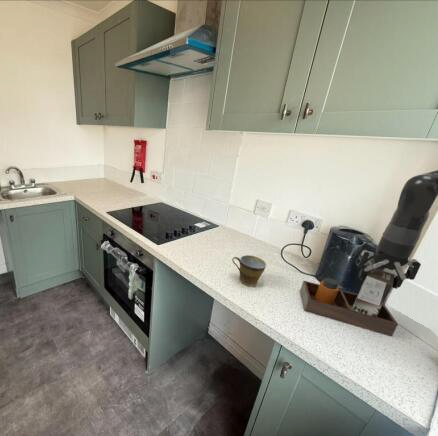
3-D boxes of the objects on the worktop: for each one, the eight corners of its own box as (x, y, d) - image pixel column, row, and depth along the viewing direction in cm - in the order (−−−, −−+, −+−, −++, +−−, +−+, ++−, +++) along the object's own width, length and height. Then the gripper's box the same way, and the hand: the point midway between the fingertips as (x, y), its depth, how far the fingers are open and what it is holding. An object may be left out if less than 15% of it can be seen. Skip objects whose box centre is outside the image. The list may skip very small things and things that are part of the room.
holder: (299, 292, 98) (303, 280, 96) (375, 313, 89) (381, 300, 87) (303, 312, 87) (308, 299, 85) (390, 338, 78) (398, 324, 76)
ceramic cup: (262, 280, 104) (268, 260, 100) (258, 292, 96) (263, 271, 93) (232, 269, 111) (236, 250, 107) (225, 280, 103) (229, 259, 99)
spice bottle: (328, 303, 91) (338, 279, 87) (332, 313, 87) (343, 287, 82) (311, 298, 93) (320, 274, 89) (314, 308, 89) (323, 282, 84)
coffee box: (372, 325, 80) (393, 285, 74) (348, 314, 85) (366, 275, 79) (376, 312, 86) (396, 274, 80) (354, 303, 90) (370, 265, 84)
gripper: (374, 238, 74) (354, 283, 80) (437, 250, 68) (411, 296, 74) (365, 229, 80) (347, 271, 86) (422, 239, 75) (399, 283, 81)
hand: (377, 283), depth 80 cm, fingers closed on coffee box, 8 cm apart
